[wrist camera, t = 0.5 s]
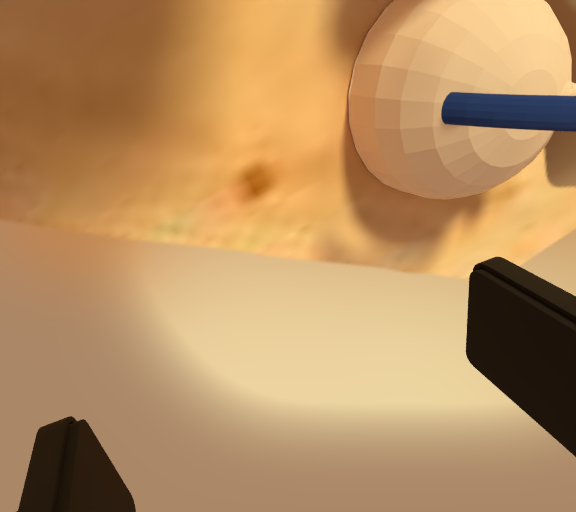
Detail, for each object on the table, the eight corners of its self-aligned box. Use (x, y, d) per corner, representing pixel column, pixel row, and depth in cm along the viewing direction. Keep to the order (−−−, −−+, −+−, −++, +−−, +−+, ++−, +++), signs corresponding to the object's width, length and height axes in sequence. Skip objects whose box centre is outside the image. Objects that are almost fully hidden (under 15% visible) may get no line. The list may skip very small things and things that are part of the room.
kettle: (493, 186, 49) (660, 244, 34) (336, 198, 43) (454, 277, 27) (543, -14, 41) (796, -59, 25) (356, -37, 34) (544, -117, 19)
